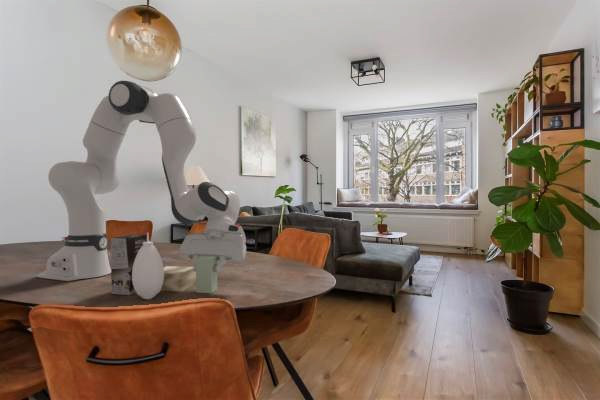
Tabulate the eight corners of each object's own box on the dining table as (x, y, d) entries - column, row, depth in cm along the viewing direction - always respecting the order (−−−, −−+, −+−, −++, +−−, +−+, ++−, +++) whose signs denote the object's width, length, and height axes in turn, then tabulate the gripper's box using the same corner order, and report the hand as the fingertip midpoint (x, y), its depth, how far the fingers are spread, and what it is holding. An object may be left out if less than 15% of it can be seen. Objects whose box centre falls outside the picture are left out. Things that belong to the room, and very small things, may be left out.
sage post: (196, 292, 100) (196, 257, 100) (202, 288, 105) (202, 255, 105) (211, 293, 100) (211, 258, 99) (217, 288, 104) (216, 255, 104)
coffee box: (130, 295, 97) (129, 237, 97) (110, 294, 99) (109, 237, 98) (150, 286, 106) (150, 234, 106) (132, 285, 107) (131, 233, 107)
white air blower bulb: (140, 305, 89) (139, 234, 89) (127, 298, 94) (126, 232, 94) (169, 298, 95) (168, 232, 95) (155, 292, 100) (155, 230, 100)
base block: (149, 290, 103) (148, 273, 103) (166, 281, 113) (166, 265, 112) (181, 291, 101) (181, 274, 101) (196, 282, 111) (196, 266, 111)
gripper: (184, 226, 110) (168, 263, 101) (246, 227, 107) (236, 266, 98) (190, 238, 115) (176, 275, 105) (251, 240, 112) (241, 277, 102)
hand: (205, 271), depth 101 cm, fingers closed on sage post, 4 cm apart
